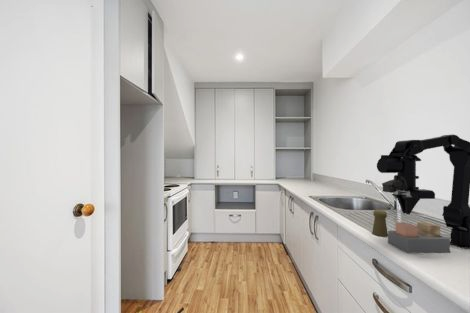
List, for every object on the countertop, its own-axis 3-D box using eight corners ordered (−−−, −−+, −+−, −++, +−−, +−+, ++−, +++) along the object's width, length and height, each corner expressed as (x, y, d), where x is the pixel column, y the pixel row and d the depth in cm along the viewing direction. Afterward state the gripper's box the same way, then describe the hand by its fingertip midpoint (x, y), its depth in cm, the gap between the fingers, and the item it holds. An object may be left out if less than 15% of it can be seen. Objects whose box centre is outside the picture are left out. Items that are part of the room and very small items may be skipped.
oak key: (428, 236, 92) (429, 222, 92) (440, 241, 87) (440, 225, 87) (417, 236, 92) (417, 222, 92) (428, 241, 87) (428, 225, 87)
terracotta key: (407, 236, 92) (407, 222, 92) (417, 241, 87) (417, 226, 87) (395, 237, 91) (395, 222, 91) (405, 241, 87) (405, 226, 87)
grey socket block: (425, 242, 95) (425, 230, 95) (449, 252, 85) (449, 238, 85) (388, 243, 94) (388, 230, 94) (407, 253, 84) (407, 239, 84)
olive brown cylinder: (380, 237, 101) (380, 211, 101) (368, 233, 107) (369, 208, 107) (391, 236, 102) (391, 211, 103) (379, 232, 108) (379, 208, 108)
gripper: (370, 171, 98) (370, 208, 98) (405, 174, 79) (405, 220, 79) (395, 171, 99) (395, 208, 99) (436, 174, 80) (436, 220, 80)
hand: (406, 213), depth 89 cm, fingers closed
